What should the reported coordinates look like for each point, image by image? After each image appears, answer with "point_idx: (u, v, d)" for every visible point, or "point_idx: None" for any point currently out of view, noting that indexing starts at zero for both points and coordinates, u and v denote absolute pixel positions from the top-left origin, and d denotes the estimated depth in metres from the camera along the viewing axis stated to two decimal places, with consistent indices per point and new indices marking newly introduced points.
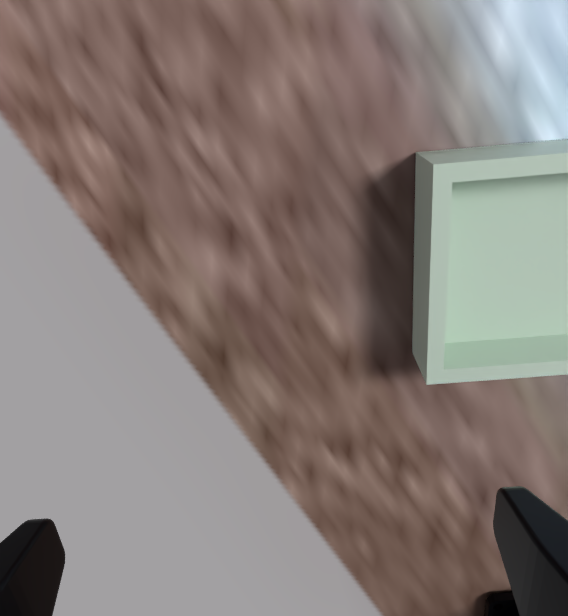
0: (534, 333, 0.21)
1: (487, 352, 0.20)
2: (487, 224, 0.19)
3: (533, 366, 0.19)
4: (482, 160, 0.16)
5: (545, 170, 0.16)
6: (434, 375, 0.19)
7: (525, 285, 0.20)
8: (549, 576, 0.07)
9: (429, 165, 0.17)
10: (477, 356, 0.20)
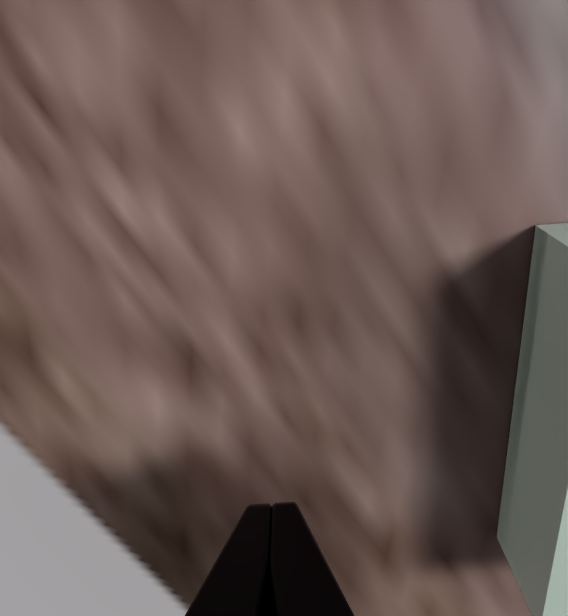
0: None
1: None
2: None
3: None
4: None
5: None
6: None
7: None
8: None
9: None
10: None
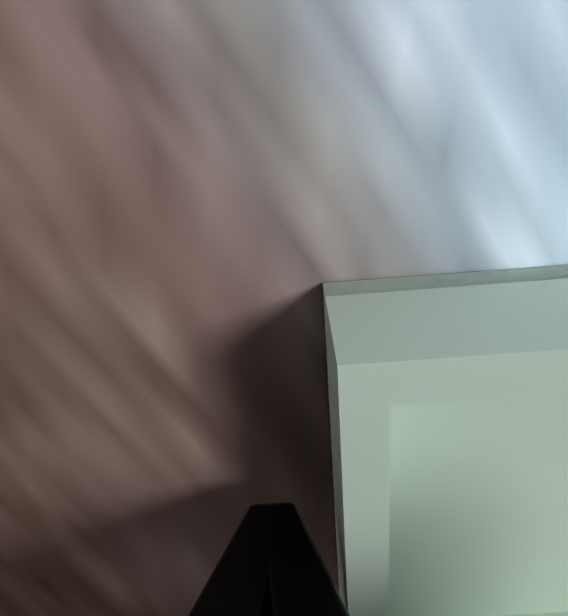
0: None
1: None
2: (481, 430, 0.09)
3: None
4: (469, 354, 0.06)
5: None
6: None
7: (559, 533, 0.10)
8: (268, 594, 0.07)
9: (333, 352, 0.06)
10: None
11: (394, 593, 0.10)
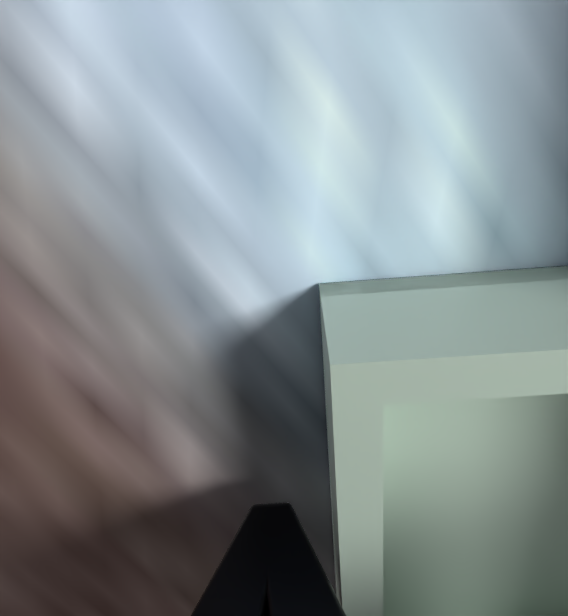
0: None
1: None
2: (477, 431, 0.09)
3: None
4: (461, 355, 0.06)
5: None
6: None
7: (555, 534, 0.10)
8: None
9: (327, 351, 0.07)
10: None
11: (390, 593, 0.11)
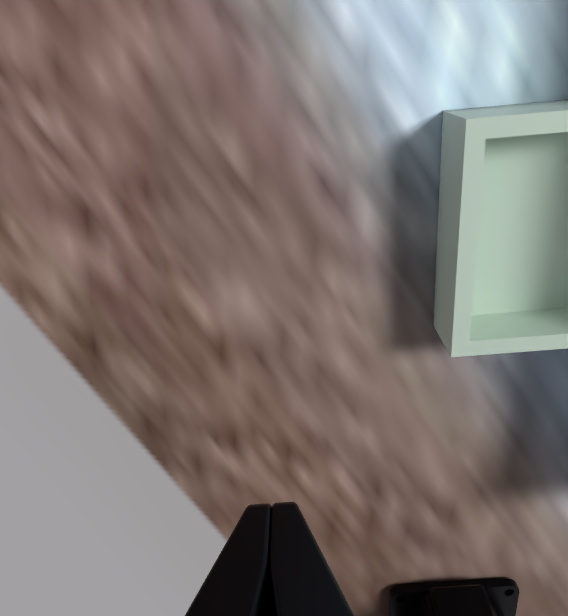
0: (561, 304, 0.20)
1: (513, 324, 0.19)
2: (516, 188, 0.18)
3: (563, 337, 0.18)
4: (518, 114, 0.15)
5: None
6: (459, 347, 0.19)
7: (553, 253, 0.19)
8: None
9: (460, 121, 0.16)
10: (504, 328, 0.19)
11: None
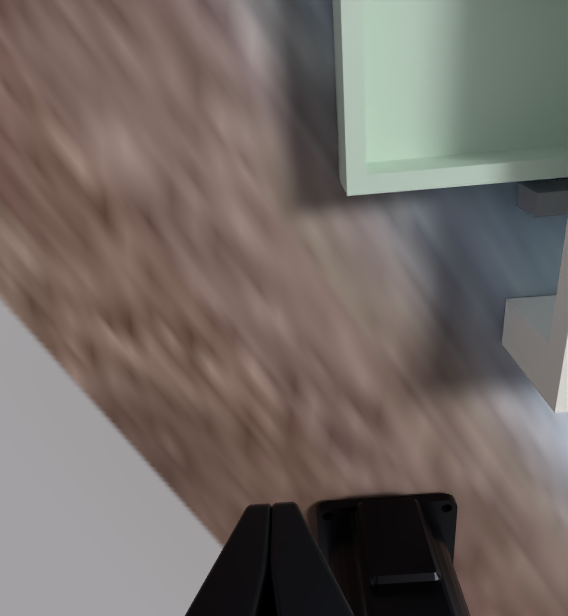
0: (479, 148, 0.18)
1: (421, 163, 0.17)
2: None
3: (473, 171, 0.16)
4: None
5: None
6: (355, 182, 0.16)
7: (465, 81, 0.17)
8: None
9: None
10: (409, 166, 0.17)
11: (371, 136, 0.17)
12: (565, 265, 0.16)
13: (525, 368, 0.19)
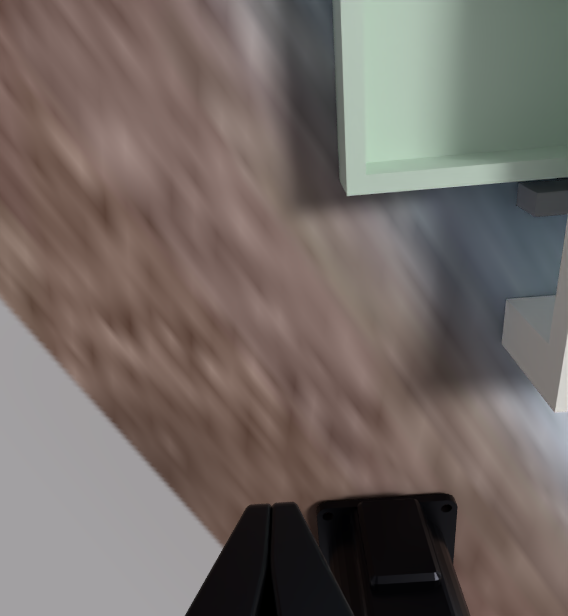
0: (479, 148, 0.18)
1: (421, 163, 0.17)
2: None
3: (473, 171, 0.16)
4: None
5: None
6: (355, 182, 0.16)
7: (465, 81, 0.17)
8: None
9: None
10: (409, 166, 0.17)
11: (371, 136, 0.18)
12: (565, 265, 0.16)
13: (525, 368, 0.19)
